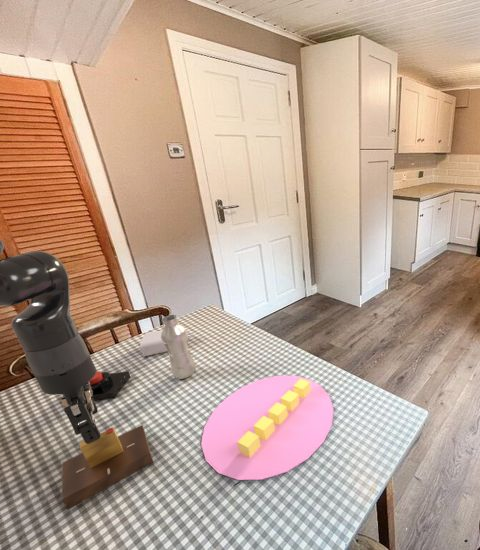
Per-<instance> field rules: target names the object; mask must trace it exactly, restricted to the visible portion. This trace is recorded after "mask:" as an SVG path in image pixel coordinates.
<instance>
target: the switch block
mask: <svg viewBox="0 0 480 550" xmlns="http://www.w3.org/2000/svg"><path fill="white" fill-rule="evenodd" d="M100 372H101V373H102V375H103V379H102V380H101V381H99V382H98V383H95V384H91V387H92V391H93V397H92V398H93V400H94V402H100V401H101V402H102V401H106V400H107V401H108V400H115V399H116V398H117V396H118V395H119V394H120V392H121V391H122V390H123V388H124V387H125V386H126V384H127V383H128V381H129V380H130V379H131V374H130V371H128V370H127V371H120V372H112V373H110V372H107V371H100Z"/></svg>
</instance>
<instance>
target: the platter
mask: <svg viewBox="0 0 480 550" xmlns="http://www.w3.org/2000/svg"><path fill="white" fill-rule="evenodd" d="M333 418H334V406H333V403H332V400H331V397H330V395H329V393H328V392H327V391H326V390H325V389H324V388H323V386H322V385H320V384H319V383H317V382H315V381H314V380H311V379H309V378H307V377H306V378H305V377H302V376H298V375H274V376H270V377H264V378H260V379H257V380H255V381H253V382H251V383H248V384H245V385H243V386H241V387H240V388H239V389H237V390H236V391H234V392H232V393H231V394H230V395H228V396H227V397H226V398H224V400H222V401H221V402H220V404H218V405H217V407H216V408H214V410H213V411H212V413H211V414H210V416H209V417H208V419H207V422H206V423H205V424H204V427H203V432H202V437H201V444H200V445H201V449H202V452H203V456H204V459H205V462H207V463H208V464H209V465H210V466H211V468H213V470H214V471H216V473H217V474H219V475H223V476H225V477H228V478H231V479H234V480H236V481H257V480H258V481H263V480H266V479H269V478H272V477H275V476H279V475H282V474H285V473H288V472H289V471H291V470H293V469H294V468H296V467H297V466H299V465H301V464H302V463H304V462H305V461H307V460H309V459H310V458H311V456H312V455H313V454H314V453H315V452H316V451H317V450H318V449H319V448H320V447H321V446H322V445H323V443H324V442H325V440H326V438H327V436H328V435H329V432H330V431H331V428H332V426H333V420H334V419H333Z"/></svg>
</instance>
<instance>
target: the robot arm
mask: <svg viewBox="0 0 480 550" xmlns="http://www.w3.org/2000/svg"><path fill="white" fill-rule="evenodd" d="M4 248H5V245H4V242H3V240H2V239H1V238H0V256H1V254H2V253H3V251H4ZM29 300H30V302H29V304H28V306H26V307H25V309H23V310H22V311H21V312H19V313H18V314H17V315H15V316H14V318H13V319H12V321H11V328H12V330H13V332H14V334H15V336H16V338H17V341H18V342H19V344H20V346H21V347H22V350H23V352H24V356H25V359H26V362H27V364H28V366H29V369H30V370H31V372H32V374H33V376H34V378H35V379H36V381H37V383H38V385H39V387H40V389H41V391H42V393H44V394H46V395H50V396H52V395H53V396H56V395H61V396H62V397H61V398H60V400H61V404H62V406H63V407H64V410H63V412H64V413H65V415H66V417H67V418H68V420H69V421H68V422H69V423H70V425H71V427H72V429H73V431H74V434H75V435H76V436H78V435H79V436H80V435H81V437H82V439H83V441H85V443H86V444H89V443H91V442H93V441H96V440H98V439H99V438H100V437H101V436H100V433H101V432H100V431H99V428H98V426H97V424H96V419H95V418H94V415H95V414H97V413H98V411H99V410H98V406H97V404H96V401H94V400H93V398H92V397H93V391H92V387H91V385H90V382H89V381H90V380H91V379H92V378H93V377H94V376H95V374H96V372H97V367H96V365H95V363H94V361H93V359H92V356H91V354H90V352H89V350H88V347H87V345H86V342H85V340H84V339H83V337H82V335H80V333H79V330H78V328H77V326H76V323H75V321H74V319H73V316H72V315H71V309H70V307H71V303H70V302H71V297H70V279H69V274H68V271H67V268H66V266H65V265H64V263H63V262H62V261H61V260H60V259H59V258H58V257H56V256H55V255H53V254H52V253H49V252H47V251H43V250H32V251H31V250H30V251H26V252H23V253H19V254H16V255H13V256H9V257H4V258H1V259H0V307H12V306H16V305H20V304H22V303H25V302H26V301H29Z"/></svg>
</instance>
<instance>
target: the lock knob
mask: <svg viewBox="0 0 480 550" xmlns="http://www.w3.org/2000/svg"><path fill="white" fill-rule="evenodd" d="M100 436H101V437H100V438H99V439H98V440H96V441H93V442H91V443H89V444H86V443H85V441H84V440H82V441H80V442H79V448H80V451H81V454H82V453H83V455H84V457H85V459H86V461H87V463H88V465H89V467H90V468H92V467H94V466H96V465H98V464H100V463H102V462H104V461H106V460H108V459H110V458H112V457H114V456H116V455H118V454H120V453H122V452H123V448H122V445H121V443H120V440H119V438H118V436H119V435H118V433H117V432H116V429H115V427H113V426H112V427H110V428H107V429H106V430H105V431H103V432H100Z"/></svg>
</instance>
